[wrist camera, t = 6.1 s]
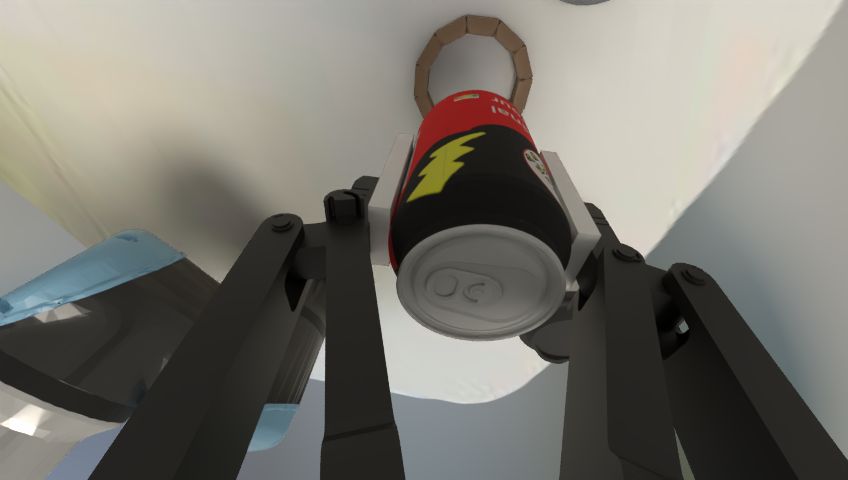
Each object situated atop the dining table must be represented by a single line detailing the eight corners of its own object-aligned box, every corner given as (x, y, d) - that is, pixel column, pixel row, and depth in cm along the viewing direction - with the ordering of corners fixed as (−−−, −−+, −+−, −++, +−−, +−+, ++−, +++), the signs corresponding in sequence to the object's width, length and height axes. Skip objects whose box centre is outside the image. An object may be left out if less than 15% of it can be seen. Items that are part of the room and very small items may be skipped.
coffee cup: (528, 199, 36) (557, 302, 25) (595, 225, 37) (652, 334, 26) (491, 252, 42) (501, 356, 30) (551, 273, 43) (581, 379, 32)
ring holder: (410, 177, 36) (385, 268, 24) (421, 9, 26) (386, 33, 14) (498, 188, 36) (513, 286, 24) (543, 23, 26) (606, 59, 14)
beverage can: (504, 195, 21) (536, 363, 12) (411, 177, 21) (370, 333, 12) (542, 97, 17) (638, 236, 8) (428, 73, 17) (386, 186, 7)
